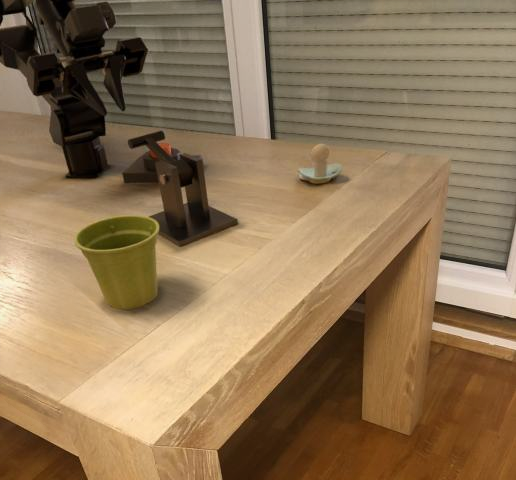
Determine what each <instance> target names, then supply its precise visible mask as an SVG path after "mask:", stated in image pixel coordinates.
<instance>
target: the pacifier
mask: <svg viewBox="0 0 516 480" xmlns="http://www.w3.org/2000/svg"><path fill="white" fill-rule="evenodd" d="M329 156H330V149H329V146H328V145H327V144H325V143H318V144H316V145H315V146H314V147H313V148H312V149H311V152H310V158H311V160H312V162H313V167H306V168H305V167H304V168H302V167H301V168H298V170H297V171H298V173H299V174H298V179H300V180H302V181H306V182H307V181H308V182H309V183H310V184H314V185H315V184H319V185H320V184H324V183H328V182H330V181H331V179H333V178H335V177H338V176H339V175H340V173H341V172H342V171H343V163H340V162H339V163H338V162H337V163H330V164H327V163H328V161H327V160H328V158H329Z"/></svg>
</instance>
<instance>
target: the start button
mask: <svg viewBox="0 0 516 480" xmlns="http://www.w3.org/2000/svg"><path fill="white" fill-rule="evenodd" d="M157 143H158V144H159V145H160V146H161V147H162V148H163V149H164V150H165V151H166V152H167V153H168V154H169V155H172V154H171V148H172V147H171V144H170V143H169V142H157ZM149 151H150V153H151V157H153V158H158V157H157V156H156V155H155V154H154V153H153V152H152V151H151V150H150V149H149Z"/></svg>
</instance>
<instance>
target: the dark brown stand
mask: <svg viewBox="0 0 516 480" xmlns="http://www.w3.org/2000/svg"><path fill="white" fill-rule="evenodd" d="M192 155H193V154H189V153H187V152H184V153H180V159H183V160H184V161H185V162H186V163H187V164H188V165H189V166H190V167H191V168H192V169H193V179H192V184H190V185H187V186H184V191H185V196H186V197H185V198H186V202H185V203H184V199H183V192H182V187H181V186H180V180H179V174H178V168H177V167H176V166H173V165H171V164H169V163H166V162H164V161H161V160H160V161H157V162H155V165H156V170H157V175H158V181H159V183H158V185H159V186H158V187H159V190H160V196H161V201H162V207H163V211H160V212H157V213H154V214H151V215H148V217H150V218H152V219H154V220H156V221H157V222H158V224H159V232H158V234H157V236H158V235H159V236H160V237H162V238H163V239H165V240H166V241H168V242H170V243H172V244H173V245H175V246H177V247H179V248H181V247H183V246H186V245H188V244H191V243H194V242H197V241H199V240H201V239H204V238H206V237H209V236H211V235H213V234H216V233H219V232H222V231H224V230H227V229H229V228H232V227H234V226H236V225H239V220H238V218H236V217H234V216H232V215H230V214H227V213H225V212H223V211H221V210H219V209H216V208H215V207H213V206H210V205H209V198H208V192H207V185H206V177H205V176H206V175H205V168H204V161H202V159H203V158H202V159H200V158H197V157H195V156H192Z"/></svg>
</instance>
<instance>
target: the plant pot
mask: <svg viewBox="0 0 516 480" xmlns="http://www.w3.org/2000/svg"><path fill="white" fill-rule="evenodd" d="M158 232H159V224H158V222H157V221H156V220H154V219H152V218H150V217H149V216H145V215H138V214H126V215H123V214H122V215H115V216H110V217H106V218H102V219H99V220H96V221H93V222H91V223H89V224H86V225H85V226H83V227H81V228H80V229H79V230H78V231H77V232H76V233H74V236H73V243H74V245H75V246H76V248H78V249H79V250H80V251H81V253H82V255H83V257H84V258H85V259H86V260H87V262H88V264H89V266H90V268H91V271H92V273H93V275H94V278H95V280H96V281H97V284H98V286H99V288H100V291H101V293H102V296H103V298H104V300H105V301H106V304H107V305H108V306H110V307H112V308H113V309H117V310H132V309H133V310H134V309H137V308H140V307H144V306H146V305H147V304H148V303H151V302H153V301H154V300H155V299H156V297H157V295H158V292H159V291H158V274H157V273H158V272H157V254H156V253H157V251H156V245H157V243H158V237H157V236H158Z"/></svg>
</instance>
